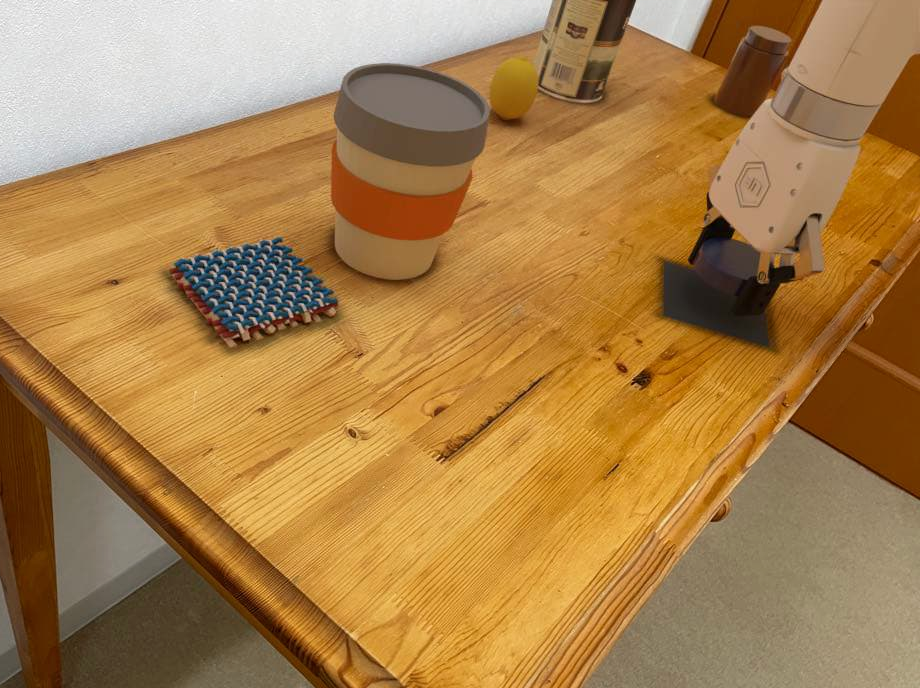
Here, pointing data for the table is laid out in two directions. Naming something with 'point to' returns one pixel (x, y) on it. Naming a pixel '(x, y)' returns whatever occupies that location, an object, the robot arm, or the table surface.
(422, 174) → the reusable coffee cup
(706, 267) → the lid
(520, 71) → the lemon
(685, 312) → the coaster
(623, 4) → the coffee can
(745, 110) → the jar
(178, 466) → the table surface
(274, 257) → the woven mat
